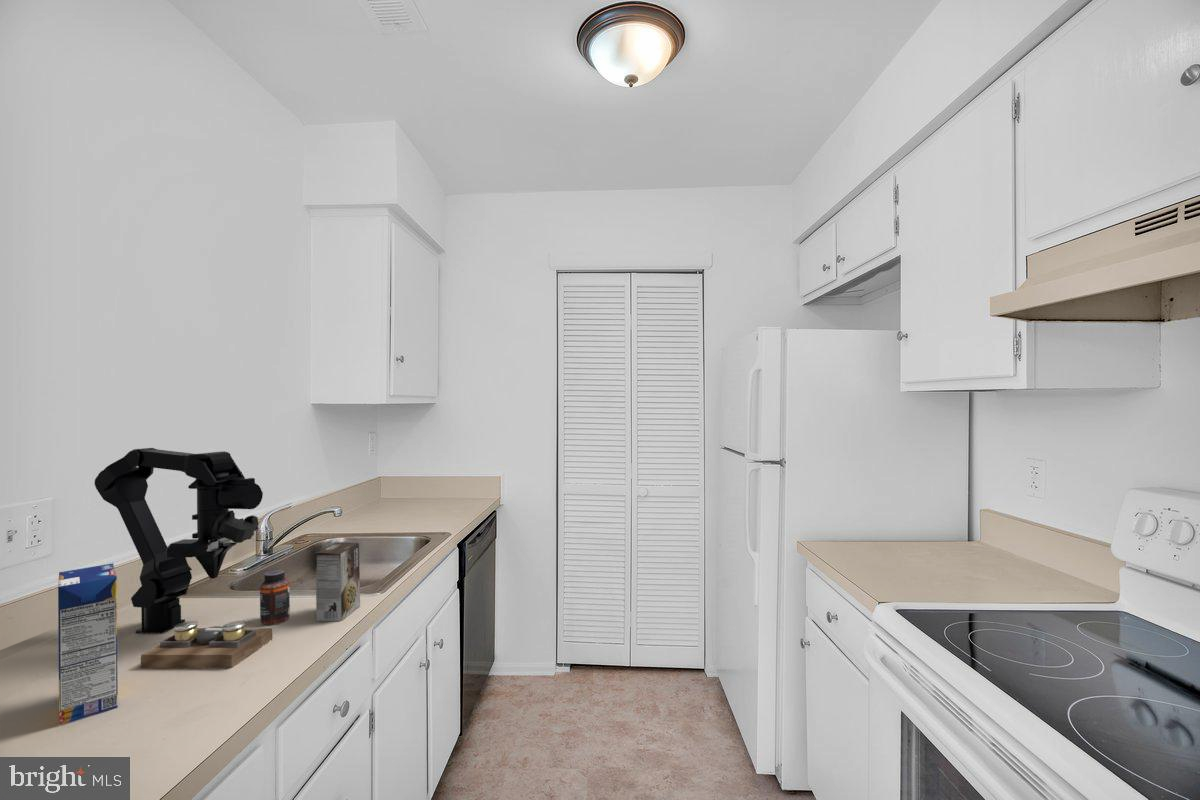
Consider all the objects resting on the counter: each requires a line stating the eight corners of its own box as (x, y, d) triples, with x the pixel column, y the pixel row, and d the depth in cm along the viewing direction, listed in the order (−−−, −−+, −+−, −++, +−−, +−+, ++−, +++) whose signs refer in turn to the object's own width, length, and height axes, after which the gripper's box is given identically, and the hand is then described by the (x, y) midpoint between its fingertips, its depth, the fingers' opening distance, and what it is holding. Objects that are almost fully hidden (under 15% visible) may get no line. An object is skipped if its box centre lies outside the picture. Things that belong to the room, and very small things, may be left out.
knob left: (169, 656, 105) (169, 628, 105) (184, 647, 109) (184, 621, 109) (187, 656, 105) (187, 628, 105) (202, 647, 109) (202, 621, 109)
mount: (140, 667, 101) (140, 649, 101) (190, 639, 113) (190, 623, 113) (231, 667, 101) (231, 649, 101) (272, 639, 113) (272, 623, 113)
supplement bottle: (295, 615, 126) (295, 568, 126) (278, 626, 120) (277, 576, 120) (272, 615, 126) (272, 568, 126) (253, 625, 120) (253, 576, 120)
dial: (190, 644, 105) (190, 633, 105) (207, 634, 109) (207, 624, 109) (213, 644, 105) (213, 633, 105) (229, 634, 109) (229, 624, 109)
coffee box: (335, 606, 131) (335, 541, 131) (361, 606, 131) (360, 541, 131) (314, 621, 122) (314, 552, 122) (341, 621, 122) (341, 552, 122)
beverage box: (59, 726, 83) (58, 587, 83) (59, 699, 91) (59, 572, 91) (117, 707, 88) (116, 576, 88) (113, 683, 95) (112, 563, 96)
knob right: (217, 656, 105) (217, 628, 105) (231, 647, 109) (231, 620, 109) (236, 656, 105) (236, 628, 105) (249, 647, 109) (249, 620, 109)
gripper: (216, 517, 108) (217, 593, 108) (275, 500, 126) (275, 564, 126) (163, 517, 108) (164, 593, 108) (230, 500, 127) (230, 565, 127)
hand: (213, 578), depth 117 cm, fingers closed
